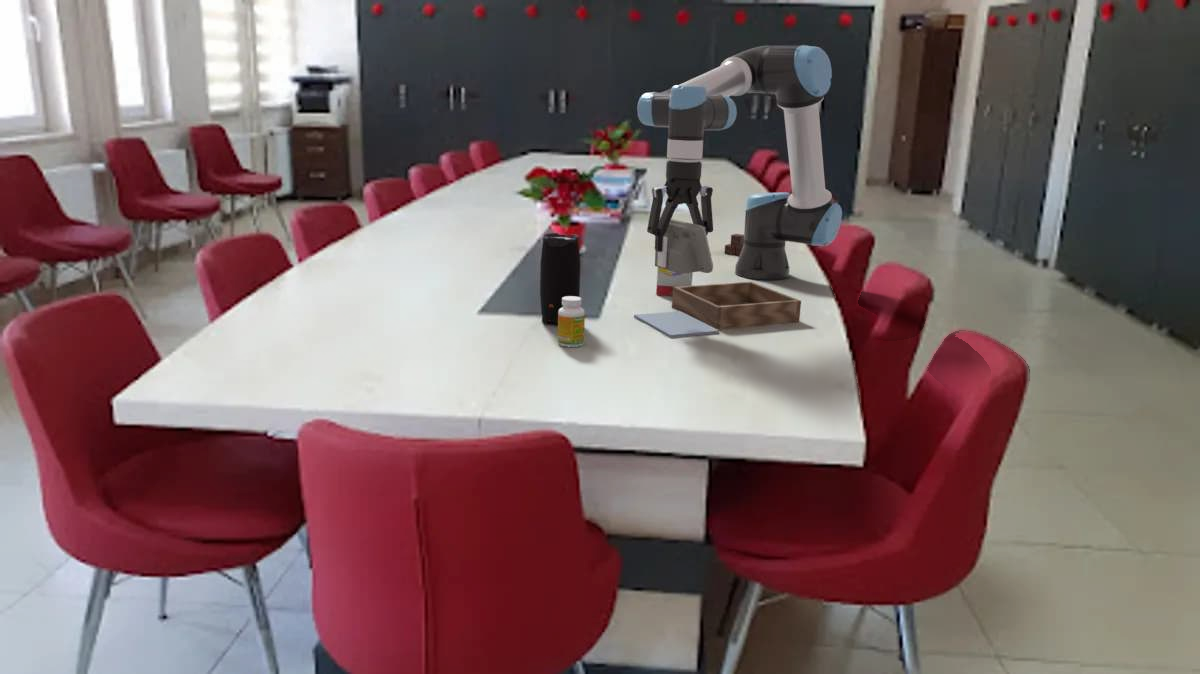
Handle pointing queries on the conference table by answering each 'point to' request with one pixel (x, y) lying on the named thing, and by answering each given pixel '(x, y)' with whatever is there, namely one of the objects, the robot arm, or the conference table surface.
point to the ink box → (671, 281)
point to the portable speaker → (558, 273)
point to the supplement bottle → (571, 322)
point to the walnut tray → (761, 311)
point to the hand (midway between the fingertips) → (678, 265)
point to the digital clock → (686, 248)
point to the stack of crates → (735, 245)
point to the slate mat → (676, 324)
